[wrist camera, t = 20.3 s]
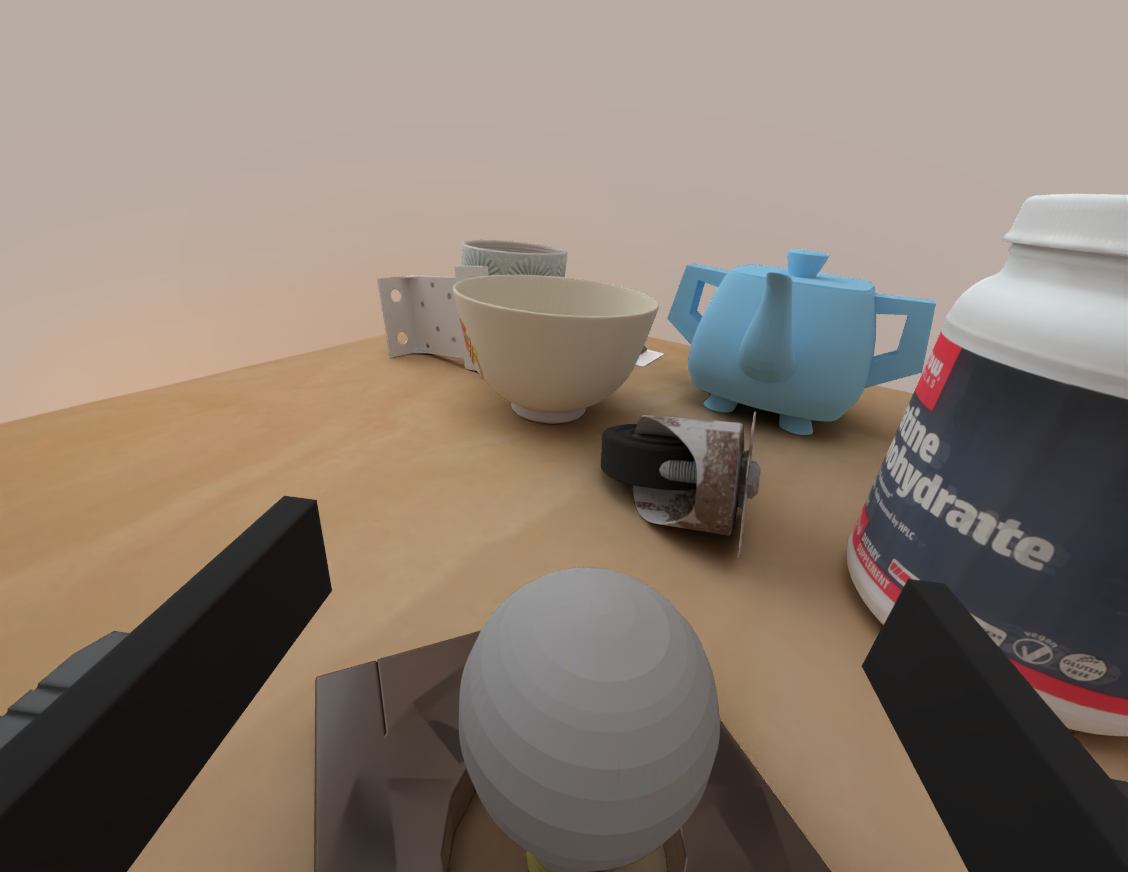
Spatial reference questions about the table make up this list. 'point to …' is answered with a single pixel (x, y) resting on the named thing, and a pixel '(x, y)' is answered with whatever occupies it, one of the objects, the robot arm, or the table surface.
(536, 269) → the planter
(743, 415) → the table surface
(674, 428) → the caster wheel
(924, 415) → the supplement tub
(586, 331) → the bowl
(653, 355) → the white tile
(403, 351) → the bracket
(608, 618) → the light bulb
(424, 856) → the socket board
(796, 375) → the teapot
